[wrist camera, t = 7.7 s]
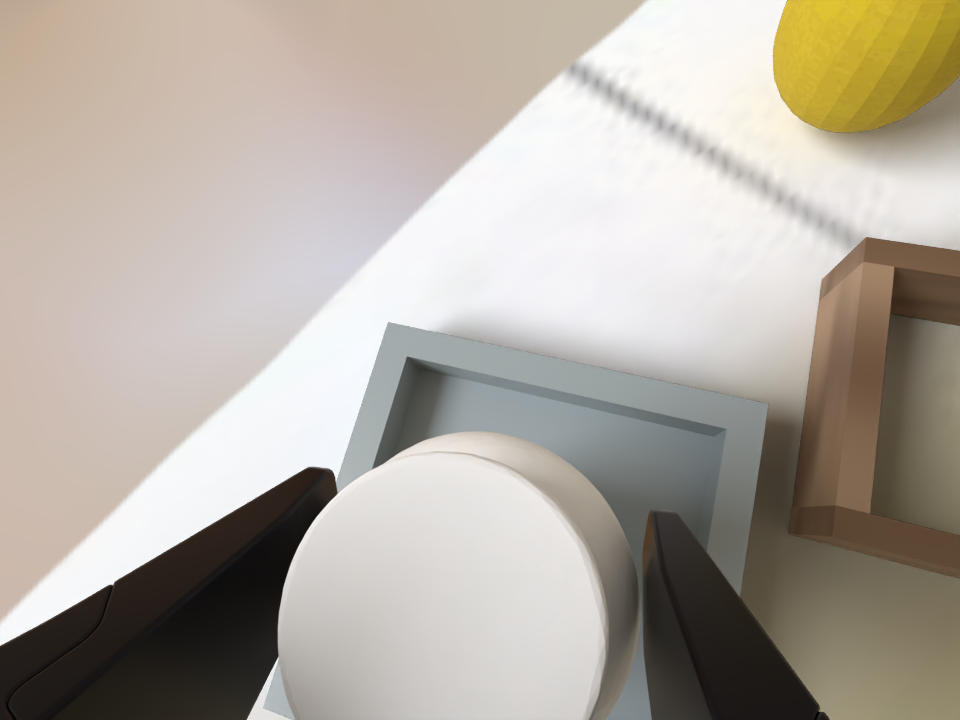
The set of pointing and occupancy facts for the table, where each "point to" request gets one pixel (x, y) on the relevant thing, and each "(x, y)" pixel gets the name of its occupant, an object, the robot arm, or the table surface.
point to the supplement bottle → (461, 591)
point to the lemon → (864, 59)
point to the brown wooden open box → (866, 399)
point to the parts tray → (573, 444)
